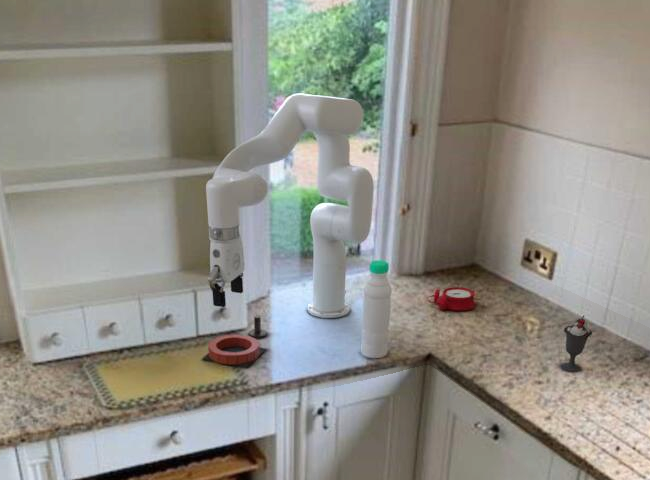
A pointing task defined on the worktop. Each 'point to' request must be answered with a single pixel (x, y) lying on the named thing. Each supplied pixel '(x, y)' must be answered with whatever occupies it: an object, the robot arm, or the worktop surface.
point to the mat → (236, 349)
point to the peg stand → (257, 329)
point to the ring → (234, 356)
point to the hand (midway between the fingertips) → (228, 298)
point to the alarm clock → (454, 299)
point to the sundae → (575, 343)
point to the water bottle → (376, 311)
